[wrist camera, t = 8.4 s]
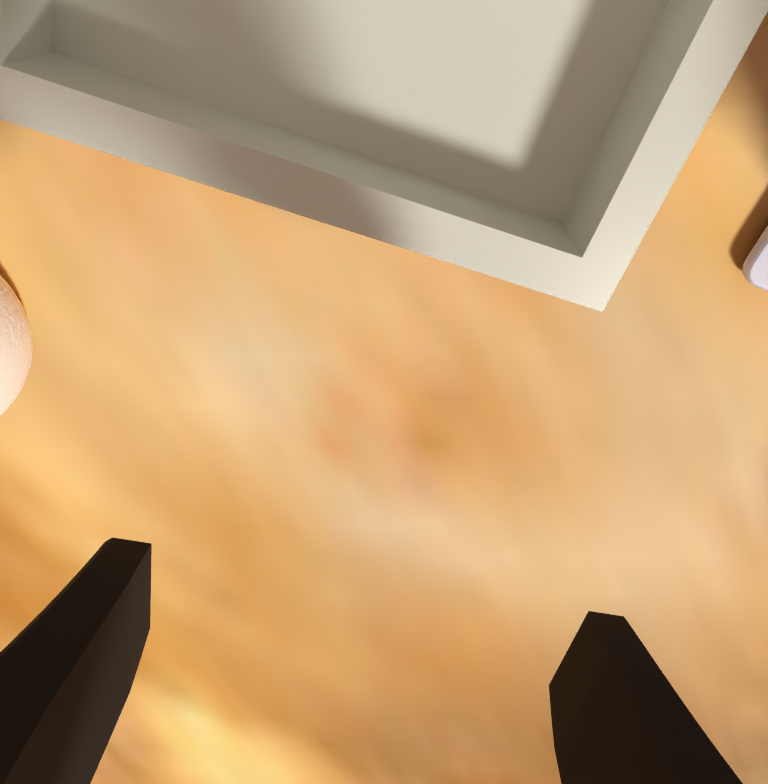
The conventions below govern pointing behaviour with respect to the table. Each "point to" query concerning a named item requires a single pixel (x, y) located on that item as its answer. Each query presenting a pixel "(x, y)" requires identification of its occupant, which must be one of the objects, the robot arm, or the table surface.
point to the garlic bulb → (13, 346)
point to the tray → (399, 113)
